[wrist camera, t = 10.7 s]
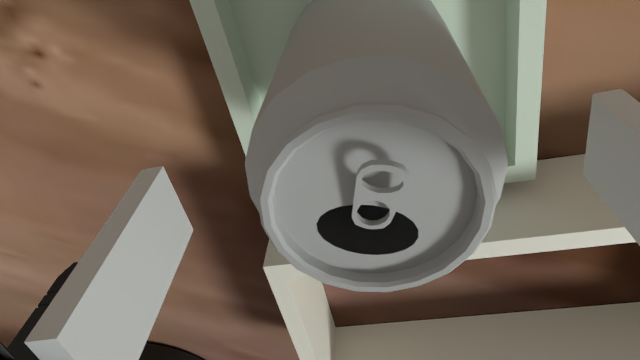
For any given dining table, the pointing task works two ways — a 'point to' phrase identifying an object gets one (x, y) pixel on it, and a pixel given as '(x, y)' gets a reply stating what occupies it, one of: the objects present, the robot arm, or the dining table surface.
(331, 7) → the can
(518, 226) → the white rectangular frame
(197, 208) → the dining table surface
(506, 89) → the tray
